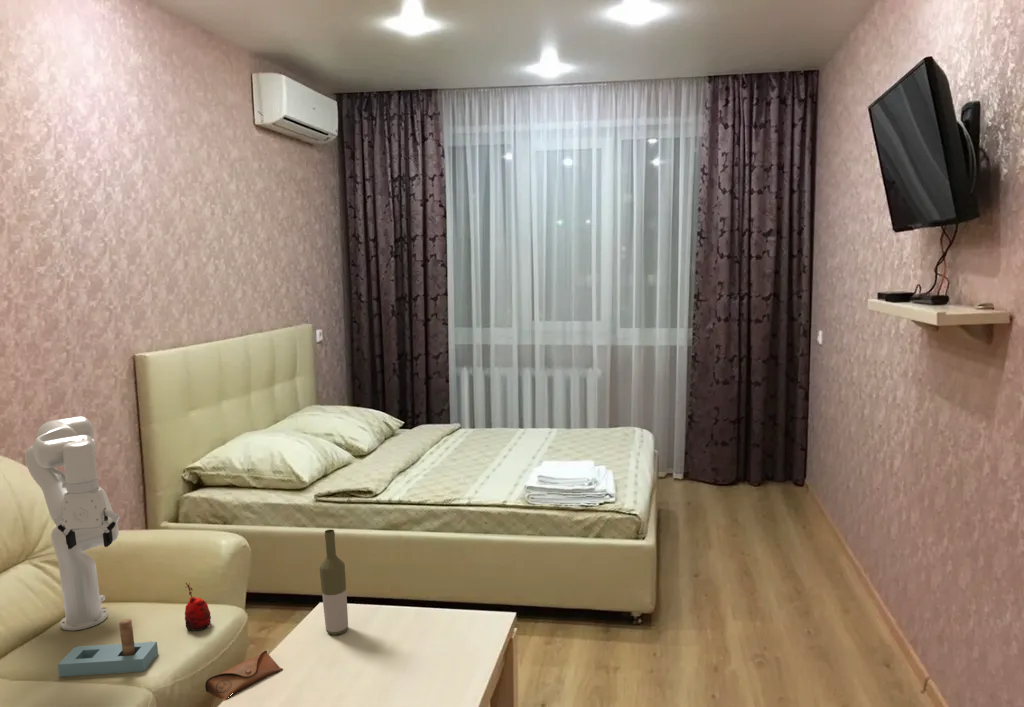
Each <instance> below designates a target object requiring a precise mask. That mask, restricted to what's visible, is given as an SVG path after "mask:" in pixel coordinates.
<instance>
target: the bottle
mask: <svg viewBox="0 0 1024 707" xmlns="http://www.w3.org/2000/svg"><path fill="white" fill-rule="evenodd" d="M324 538H325V540H324V541H325V551H326V557H325V559H324V560H323V561H322V562H321V564H320V566H319V576H320V584H321V595H322V604H323V606H322V607H323V614H324V624H325V631H326V633H328V634H329V635H333V636H334V635H340V634H343V633H346V631H348V628H349V616H348V615H349V614H348V613H349V612H348V599H347V597H348V595H347V581H346V578H347V577H346V564H345V562H344V561H343V560H342V559H341V558H339V557H338V556H337V553H336V552H337V550H336V549H337V548H336V541H335V540H336V539H335V538H336V532H335V530H334V529H333V528H332V529H326V530H325V531H324Z"/></svg>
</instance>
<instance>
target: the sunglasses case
mask: <svg viewBox="0 0 1024 707" xmlns="http://www.w3.org/2000/svg"><path fill="white" fill-rule="evenodd" d="M283 670H284V668H282V667H280V666H279V664H277V662H275V660H274V659H273V658H272V657H271V655H270V653H268V651H267V650H264V651H262V652H261V653H258V654H256V655H255V656H253V657H251V658H248V659H247V660H244V661H242V662H240V663H238V664H236V665H234V666H233V667H230V668H228V669H226V670H225V671H223V672H220V673H218V674H215V675H212V676H211V677H210V678H208V679H207V680H206V682H205V685H204V687H205V691H206V693H208V694H211V695H212V696H214V697H216V698H218V699H220V700H222V701H227V700H229V699H231V698H232V697H234V696H235V695H237V694H238V693H241V692H242V691H244V690H246V689H248V688H249V687H251V686H253V685H255V684H257V683H259V682H261V681H263V680H265V679H267V678H269V677H271V676H273V675H275V674H278V673H279V672H281V671H283ZM232 693H233V694H232ZM231 694H232V695H231ZM230 695H231V696H232V697H231V696H230ZM228 697H229V698H228Z"/></svg>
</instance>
